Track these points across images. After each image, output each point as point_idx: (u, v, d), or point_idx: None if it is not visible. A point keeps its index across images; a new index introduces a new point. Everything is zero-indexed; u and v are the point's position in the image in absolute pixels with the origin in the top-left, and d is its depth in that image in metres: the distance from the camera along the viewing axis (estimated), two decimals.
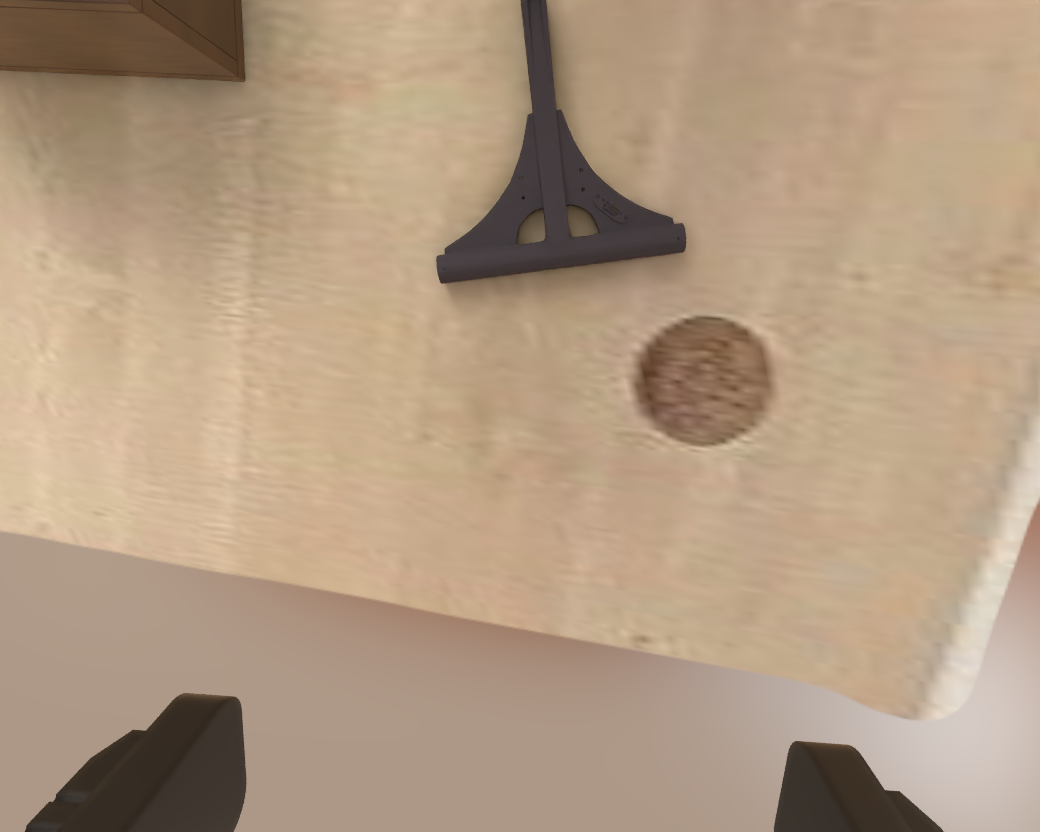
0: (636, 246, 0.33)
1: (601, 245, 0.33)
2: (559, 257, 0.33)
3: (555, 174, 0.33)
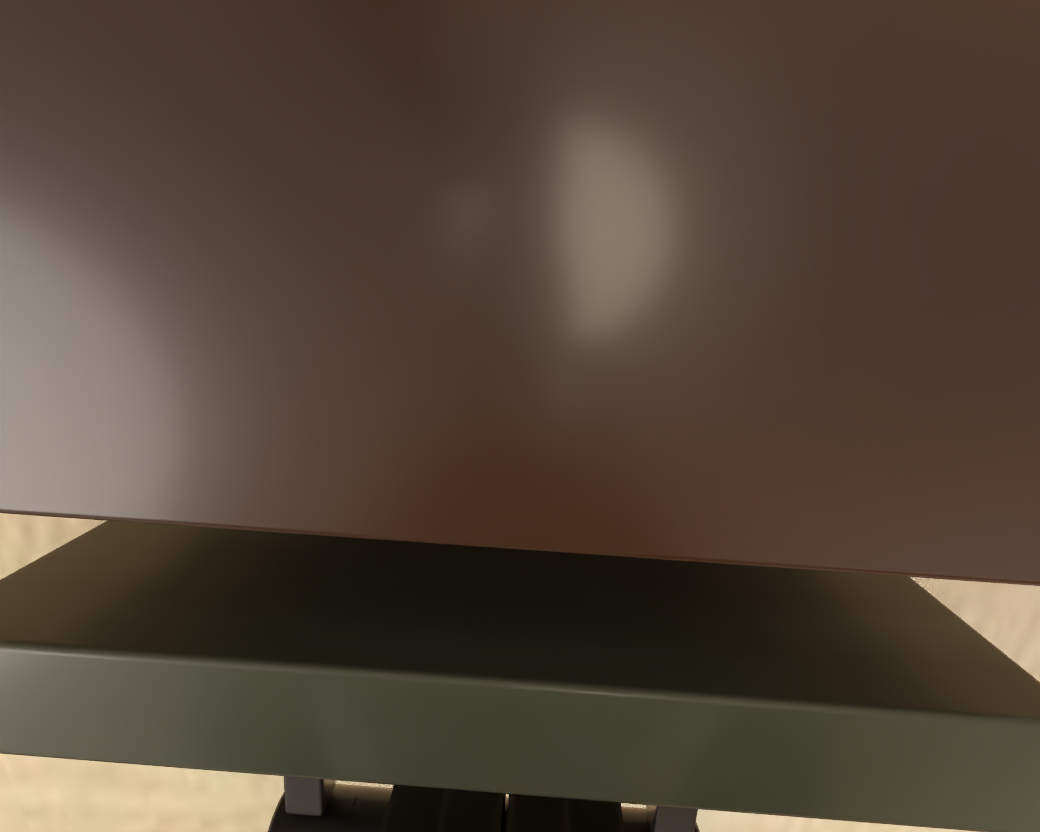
0: None
1: None
2: None
3: None
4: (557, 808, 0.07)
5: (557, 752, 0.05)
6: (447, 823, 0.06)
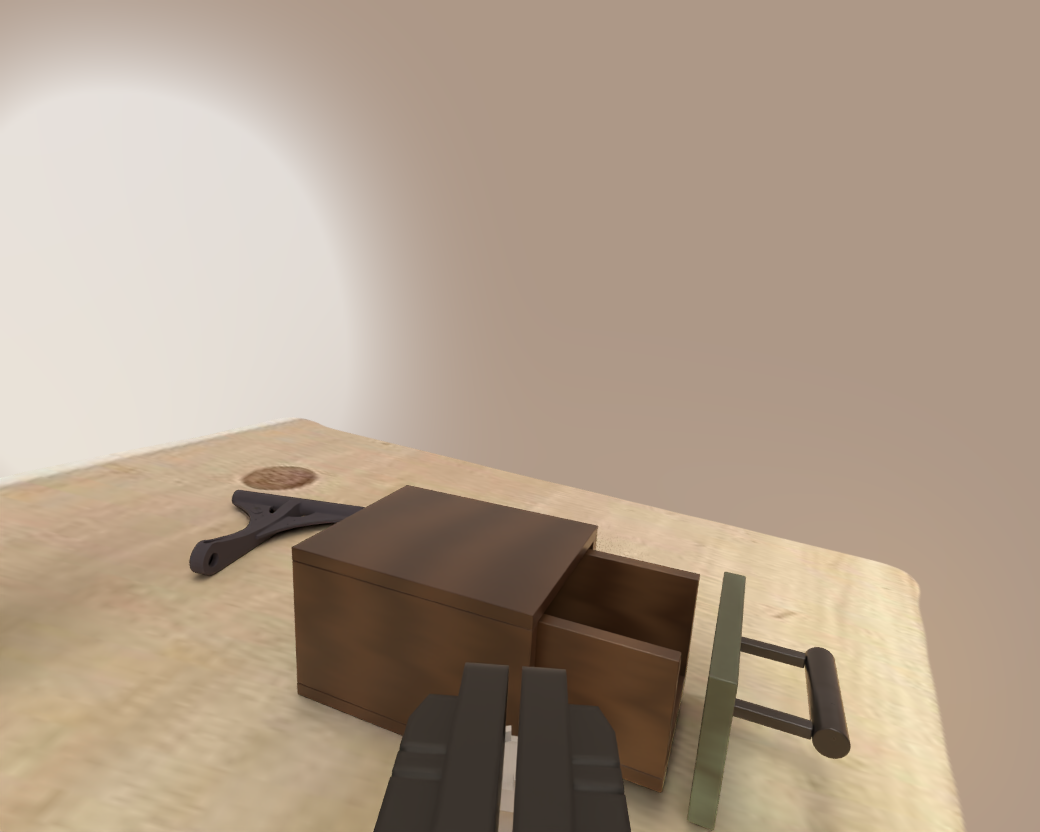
0: (261, 493, 0.60)
1: (276, 496, 0.60)
2: (299, 498, 0.60)
3: (269, 517, 0.56)
4: (563, 808, 0.07)
5: (732, 611, 0.30)
6: (441, 822, 0.06)
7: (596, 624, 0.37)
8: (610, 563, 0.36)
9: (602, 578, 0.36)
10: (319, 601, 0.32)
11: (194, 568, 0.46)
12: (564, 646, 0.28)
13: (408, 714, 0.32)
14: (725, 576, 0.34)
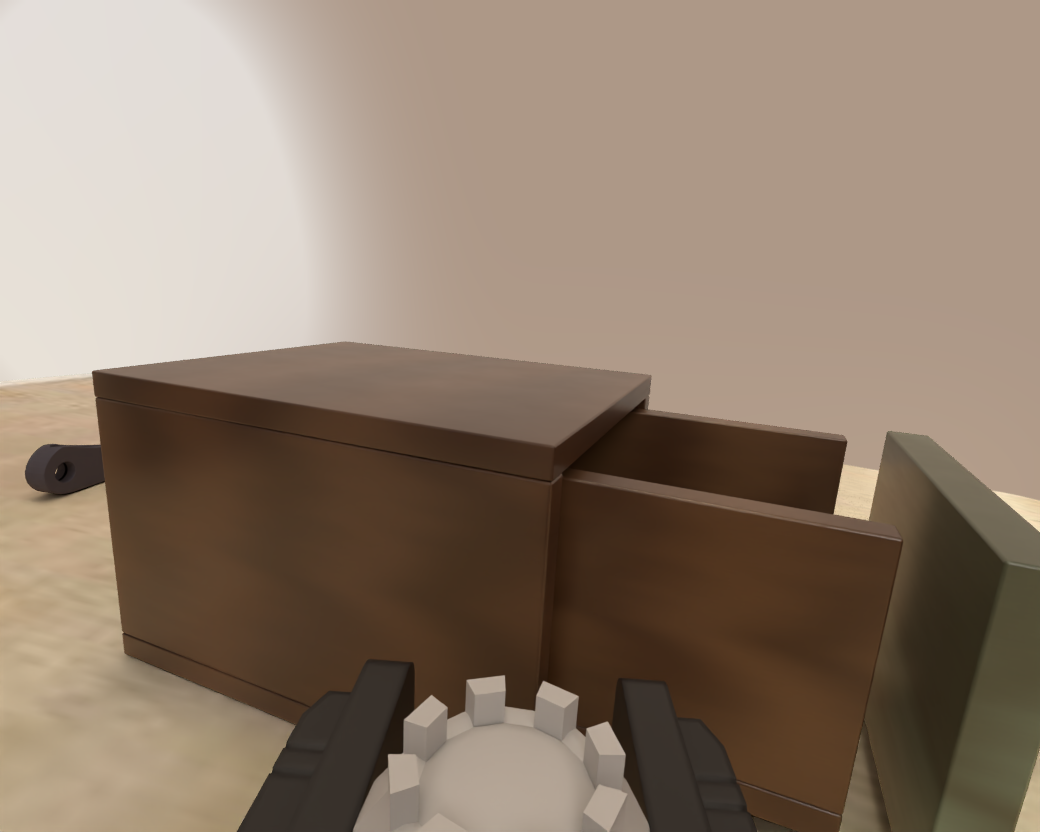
0: None
1: None
2: None
3: None
4: (699, 828, 0.06)
5: (951, 471, 0.15)
6: (300, 818, 0.06)
7: None
8: (679, 425, 0.20)
9: (664, 454, 0.21)
10: (143, 472, 0.17)
11: (33, 482, 0.31)
12: (619, 529, 0.13)
13: (307, 684, 0.16)
14: (894, 435, 0.19)
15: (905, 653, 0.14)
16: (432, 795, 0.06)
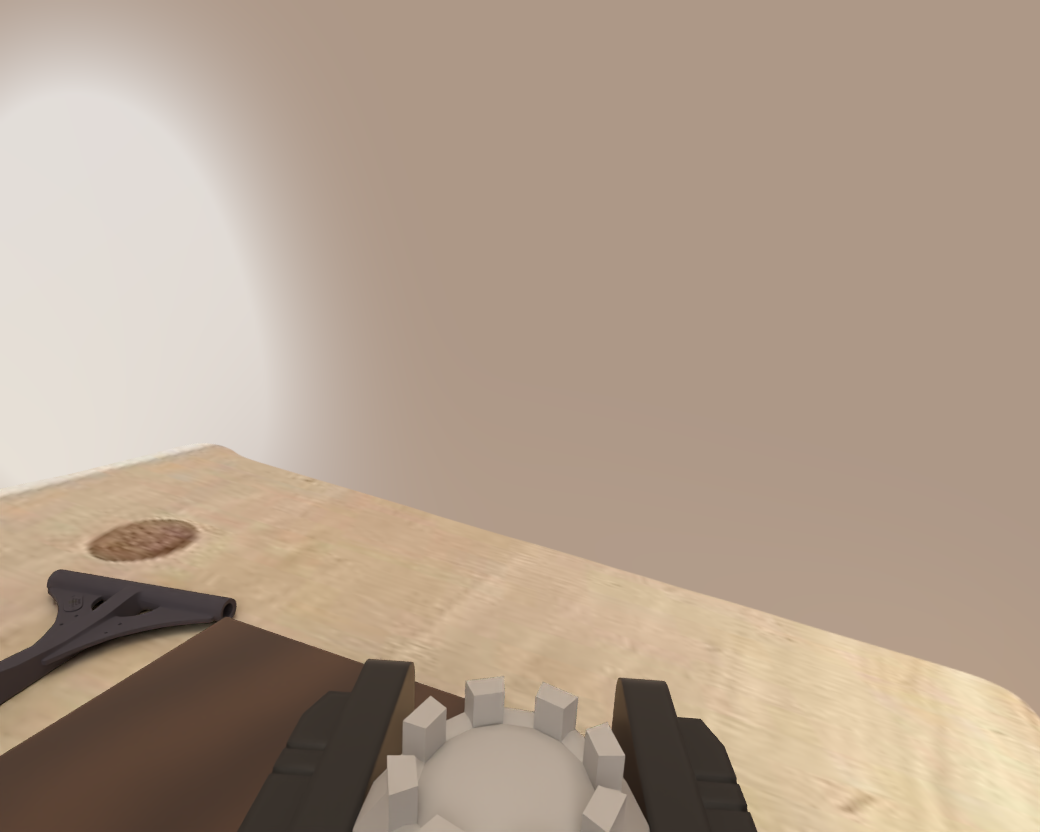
0: (90, 575, 0.42)
1: (109, 581, 0.42)
2: (142, 583, 0.42)
3: (81, 621, 0.38)
4: (699, 827, 0.06)
5: None
6: (300, 819, 0.06)
7: None
8: None
9: None
10: None
11: None
12: None
13: None
14: None
15: None
16: (431, 796, 0.06)
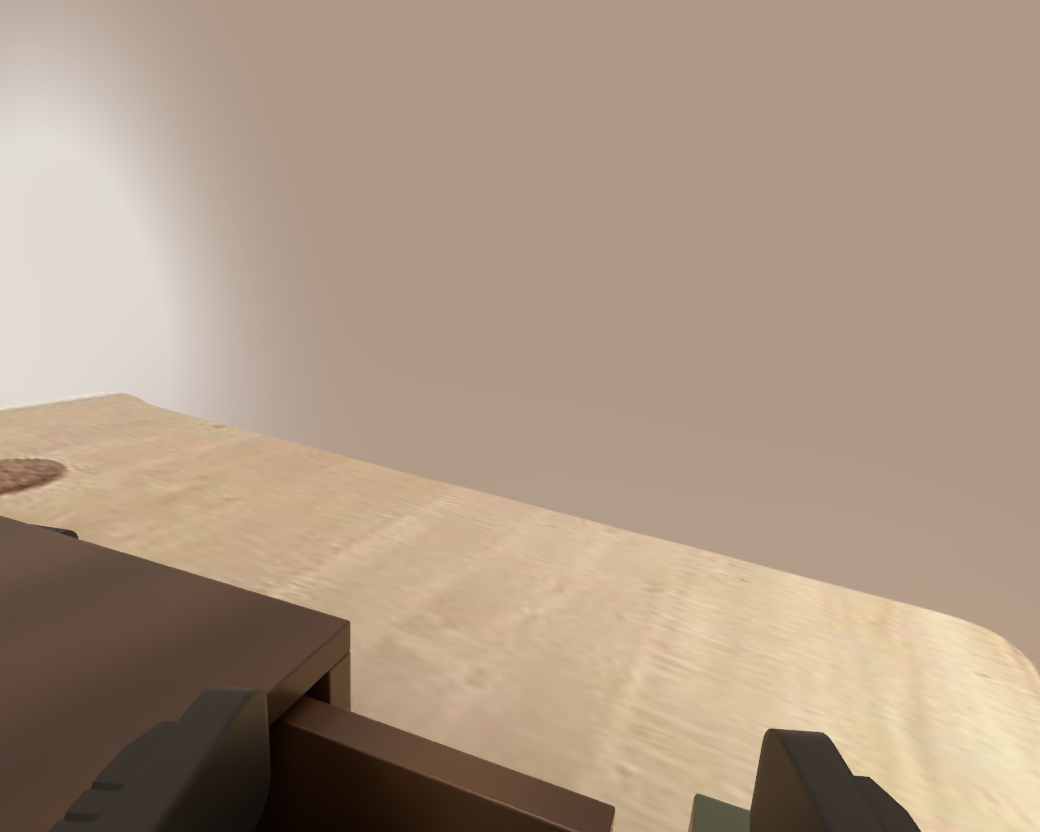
0: None
1: None
2: None
3: None
4: None
5: None
6: None
7: None
8: (343, 755, 0.11)
9: (326, 794, 0.12)
10: None
11: None
12: None
13: None
14: (698, 824, 0.10)
15: None
16: None
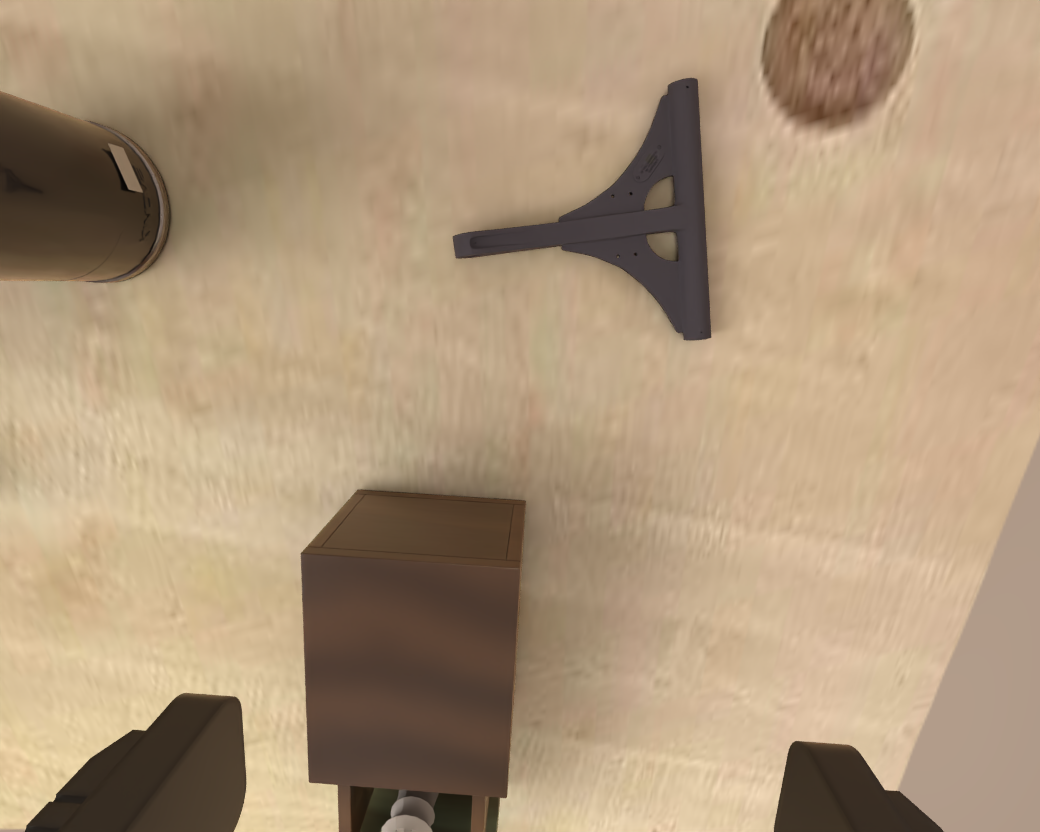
0: (692, 133, 0.32)
1: (688, 171, 0.33)
2: (697, 215, 0.33)
3: (618, 221, 0.34)
4: None
5: None
6: None
7: None
8: None
9: None
10: None
11: None
12: None
13: None
14: None
15: None
16: None
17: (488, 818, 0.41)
